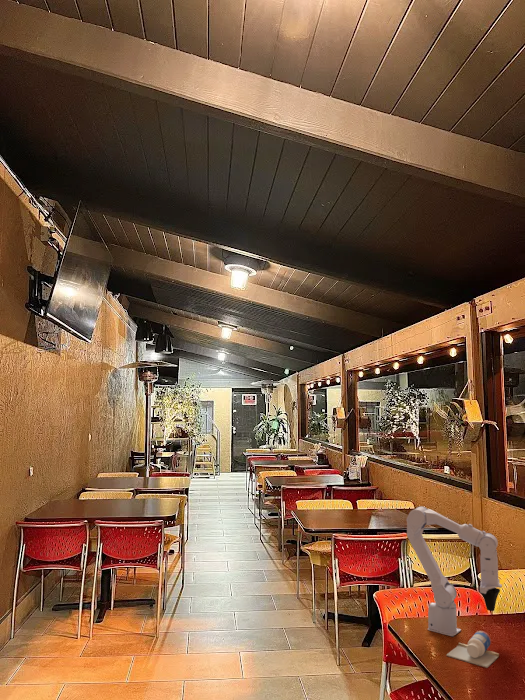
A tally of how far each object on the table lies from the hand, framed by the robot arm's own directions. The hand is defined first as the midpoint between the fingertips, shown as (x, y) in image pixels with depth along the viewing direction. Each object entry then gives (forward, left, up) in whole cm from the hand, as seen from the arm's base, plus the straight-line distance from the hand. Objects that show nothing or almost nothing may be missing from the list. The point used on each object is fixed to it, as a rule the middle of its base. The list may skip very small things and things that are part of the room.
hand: (490, 610), depth 197 cm
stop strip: (0, -13, -10) cm, 16 cm away
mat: (0, -19, -10) cm, 21 cm away
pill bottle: (+1, -11, -6) cm, 13 cm away
